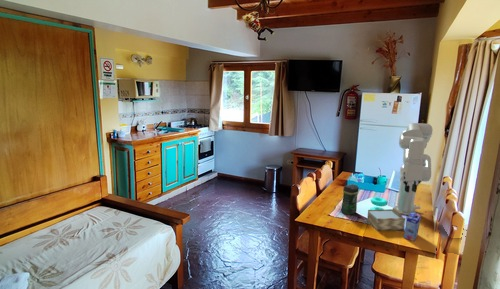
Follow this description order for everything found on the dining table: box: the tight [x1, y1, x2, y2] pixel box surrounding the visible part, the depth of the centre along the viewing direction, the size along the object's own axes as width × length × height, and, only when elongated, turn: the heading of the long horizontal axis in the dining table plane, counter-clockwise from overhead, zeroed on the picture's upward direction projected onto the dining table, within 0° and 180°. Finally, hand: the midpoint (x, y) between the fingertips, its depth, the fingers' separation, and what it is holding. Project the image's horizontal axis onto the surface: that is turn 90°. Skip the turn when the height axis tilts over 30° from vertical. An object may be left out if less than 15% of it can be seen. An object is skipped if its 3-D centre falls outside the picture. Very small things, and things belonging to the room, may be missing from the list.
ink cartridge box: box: [403, 212, 422, 242], centre depth 163 cm, size 10×6×14 cm, turn 140°
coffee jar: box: [340, 183, 360, 216], centre depth 191 cm, size 10×8×19 cm
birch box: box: [366, 208, 406, 232], centre depth 175 cm, size 16×12×8 cm
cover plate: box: [369, 207, 404, 221], centre depth 174 cm, size 16×10×4 cm, turn 95°
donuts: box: [369, 196, 389, 210], centre depth 191 cm, size 10×10×10 cm
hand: (410, 191), depth 173 cm, fingers open, 3 cm apart
